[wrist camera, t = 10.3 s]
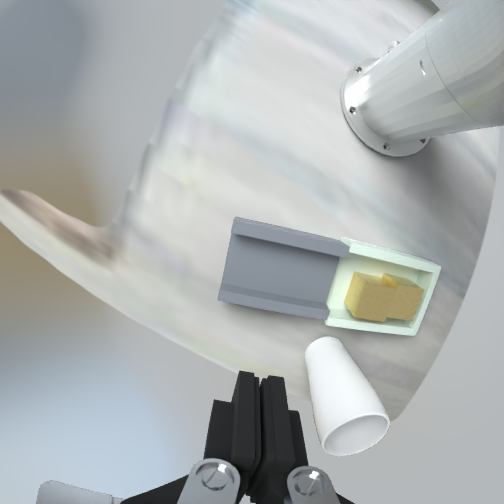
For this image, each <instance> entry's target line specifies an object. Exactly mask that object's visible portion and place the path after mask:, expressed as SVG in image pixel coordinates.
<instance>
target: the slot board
mask: <svg viewBox="0 0 504 504" xmlns="http://www.w3.org/2000/svg"><path fill="white" fill-rule="evenodd" d="M231 233H232V234H231V238H230V243H229V248H228V253H227V258H226V263H225V268H224V273H223V278H222V283H221V287H220V290H219V295H218V300H219V301H224V302H228V303H233V304H238V305H243V306H248V307H253V308H258V309H264V310H269V311H274V312H280V313H285V314H291V315H297V316H303V317H309V318H315V319H321V320H327V318H328V316H329V313H330V310H329V308H328V306H327V305H326V301H327V298H328V295H329V292H330V289H331V285H332V282H333V279H334V276H335V272H336V269H337V266H338V262H339V259H340V257H344V258H347V256H348V253H349V249H350V247H349V246H348V245H346V244H345V243H343V242H342V241H340V240H336V239H331V238H327V237H323V236H319V235H315V234H310V233H306V232H302V231H298V230H293V229H289V228H285V227H280V226H276V225H271V224H267V223H262V222H258V221H253V220H248V219H244V218H239V217H235V219H234V221H233V226H232V230H231Z"/></svg>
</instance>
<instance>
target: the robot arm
mask: <svg viewBox="0 0 504 504" xmlns="http://www.w3.org/2000/svg"><path fill="white" fill-rule="evenodd" d="M341 104H342V108H343V112H344V114H345V117H346V119H347V121H348V123H349V125H350V126H351V128H352V130H353V131H354V132H355V133H356V135H357V136H358V137H359V138H360V139H361V140H362V141H363V142H364V143H365V144H366V145H368V146H369V147H371V148H372V149H374V150H375V151H377V152H380V153H382V154H384V155H388V156H393V157H403V156H409V155H412V154H415V153H417V152H418V151H420V150H421V149H423V147H424V146H425V145H426V144H427V143H428V141H429V139H430V137H435V136H440V135H445V134H451V133H456V132H462V131H468V130H475V129H481V128H488V127H496V126H503V125H504V0H452V1H451V2H449V3H448V4H447V5H446V6H445V7H443V8H442V9H441V10H440V11H438V12H437V13H436V14H435V15H433V16H432V17H431V18H430V19H429V20H427V21H426V22H425V23H424V24H422V25H421V26H420V27H419V28H417V29H416V30H415V31H414V32H413V33H411V34H410V35H409V36H408V37H406V38H405V39H404V40H403V41H402V42H401V43H399V42H398V41H396V40H389V51H388V52H387V53H386V54H385V55H383V56H382V57H381V58H368V59H364V60H361V61H360V62H358V63H356V64H355V65H354V66H353V67H352V68H351V69H350V70H349V71H348V72H347V74H346V75H345V77H344V80H343V82H342V86H341ZM349 110H351V111H352V113H350V111H349ZM383 145H384V146H385V149H384V146H383ZM244 494H246V496H250V502H251V503H256V504H354V503H353V502H351V501H349V500H347V499H346V498H344V497H342V496H341V495H339V494H337V493H336V492H335V490H334V488H333V485H332V483H331V480H330V479H329V477H328V475H327V474H326V473H325V472H323V471H322V470H320V469H318V468H316V467H312V466H308V460H307V454H306V448H305V443H304V437H303V431H302V426H301V421H300V415H299V412H298V411H293V410H288V404H287V396H286V389H285V383H284V378H283V377H278V376H271V375H269V376H268V378H267V379H266V378H263V379H262V381H261V384H260V387H259V377H254V373H251V372H245V371H239V374H238V378H237V382H236V386H235V389H234V394H233V397H232V401H231V402H225V401H219V400H214V403H213V407H212V412H211V417H210V422H209V428H208V434H207V440H206V446H205V452H204V459H203V460H201V461H199V462H198V463H196V464H195V465H194V466H193V468H192V469H191V471H190V474H189V475H186V476H184V477H182V478H180V479H177V480H175V481H173V482H171V483H168V484H165V485H163V486H160V487H158V488H155V489H153V490H150V491H148V492H145V493H142V494H139V495H136V496H133V497H130V498H128V499H122V498H116V497H112V495H109V494H103V493H98V492H94V491H90V490H86V489H82V488H78V487H75V486H71V485H68V484H64V483H61V482H58V481H46V482H44V483H43V484H42V485H41V486H40V488H39V491H38V496H37V502H36V504H239V502H240V501H241V499H242V497H243V496H244Z"/></svg>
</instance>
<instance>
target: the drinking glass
mask: <svg viewBox="0 0 504 504" xmlns="http://www.w3.org/2000/svg"><path fill="white" fill-rule="evenodd" d="M305 363H306V366H307V372H308V379H309V386H310V393H311V401H312V409H313V416H314V422H315V426H316V430H317V434H318V437H319V440H320V443H321V447H322V449H323V451H324V452H325V453H327V454H329V455H332V456H349V455H354V454H357V453H360V452H362V451H365V450H367V449H369V448H370V447H372V446H374V445H375V444H376V443H378V442H379V441H380V440H381V439H382V438H383V437H384V436H385V435H386V433H387V432H388V429H389V427H390V419H389V417H388V415H387V413H386V410H385V408H384V406H383V404H382V402H381V400H380V398H379V396H378V395H377V393H376V391H375V390H374V388H373V387H372V385H371V384H370V383H369V381H368V380H367V378H366V377H365V376H364V374H363V373H362V372H361V370H360V369H359V367H358V366H357V365H356V363H355V362H354V360H353V359H352V358H351V356H350V355H349V353H348V352H347V351H346V349H345V347H344V345H343V344H342V342H341V341H340V340H338V339H337V338H334V337H321V338H318V339H316V340H315V341H313V342H312V343H311V344H310V345H309V346H308V348H307V349H306V352H305Z"/></svg>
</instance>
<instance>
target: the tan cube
mask: <svg viewBox="0 0 504 504" xmlns="http://www.w3.org/2000/svg"><path fill="white" fill-rule="evenodd" d="M382 278H383V279H385V280H386V281H387V282H388V283H390V284H391V285H392V286H394V287H395V288H396V289H397V290H396V293H395V296H394V299H393V301H392V304H391V306H390V309H389V311H388V314H387V316H386V317H389V318H396V319H403V320H410V321H412V320H413V317H414V315H415V313H416V310H417V308H418V305H419V303H420V300H421V298H422V295H423V292H424V289H423V288H421V287H420V286H418V285H417V284H415V283H414V282H412V281H411V280H409V279H407V278H403V277H399V276H395V275H390V274H386V273H383V276H382Z"/></svg>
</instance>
